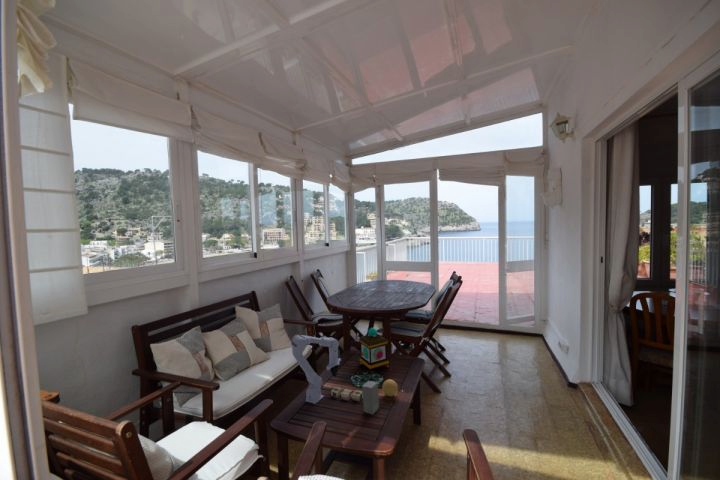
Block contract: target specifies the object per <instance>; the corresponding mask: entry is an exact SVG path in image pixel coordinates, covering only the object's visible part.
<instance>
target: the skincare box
mask: <svg viewBox="0 0 720 480" xmlns="http://www.w3.org/2000/svg"><path fill="white" fill-rule="evenodd" d="M361 389H362V391H361V392H363V398H362V400H363V401H362V403H363V412H364V413H367V414H370V415H374V414H375V413H376V412H377V411H378V410H379V408H380V402H379V401H380V400H379V385H378V381H373V380H368V381H366V382H365V383H364V384H363V385H362V387H361Z"/></svg>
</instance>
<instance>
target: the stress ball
mask: <svg viewBox="0 0 720 480" xmlns="http://www.w3.org/2000/svg"><path fill="white" fill-rule="evenodd" d="M381 388H382V392H383V394H385V396H388V397H394V396H395V395H396V394H397V393H398V390H399V385H398V383H397V382H396V380H393V379H391V378H389V379H386V380H384V381H383V383H382V387H381Z"/></svg>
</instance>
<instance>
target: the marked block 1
mask: <svg viewBox="0 0 720 480" xmlns="http://www.w3.org/2000/svg"><path fill="white" fill-rule="evenodd" d="M342 390H343V389H342V388H340V387H337V386H335V387H333V389H331V390H330V394H331V395H330V396H331V397H333V398H336V399H339V397H340V395H341V393H342V392H343V391H342Z"/></svg>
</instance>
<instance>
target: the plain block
mask: <svg viewBox="0 0 720 480" xmlns="http://www.w3.org/2000/svg"><path fill="white" fill-rule="evenodd" d="M352 394H353V391H352V390H351V389H343V391H342V393H341V397H340V398H341V400H344V401H349V400H351V399H352Z"/></svg>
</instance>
